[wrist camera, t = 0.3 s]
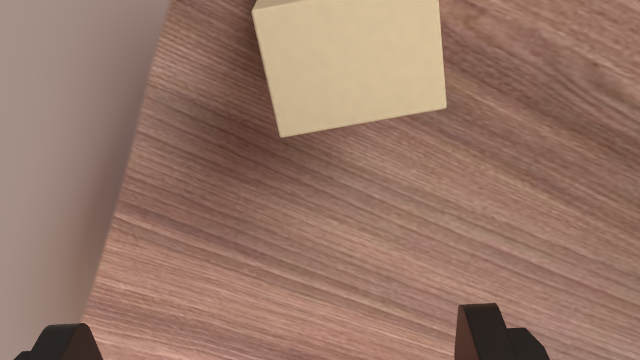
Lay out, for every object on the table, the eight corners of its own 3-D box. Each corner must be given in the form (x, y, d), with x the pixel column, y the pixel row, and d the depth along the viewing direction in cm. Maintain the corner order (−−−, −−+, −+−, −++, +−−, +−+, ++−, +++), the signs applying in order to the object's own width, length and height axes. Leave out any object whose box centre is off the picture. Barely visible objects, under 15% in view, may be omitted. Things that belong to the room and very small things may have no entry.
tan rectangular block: (266, -21, 25) (250, 10, 17) (392, -45, 25) (437, -26, 17) (285, 72, 27) (279, 139, 19) (403, 50, 27) (447, 109, 19)
